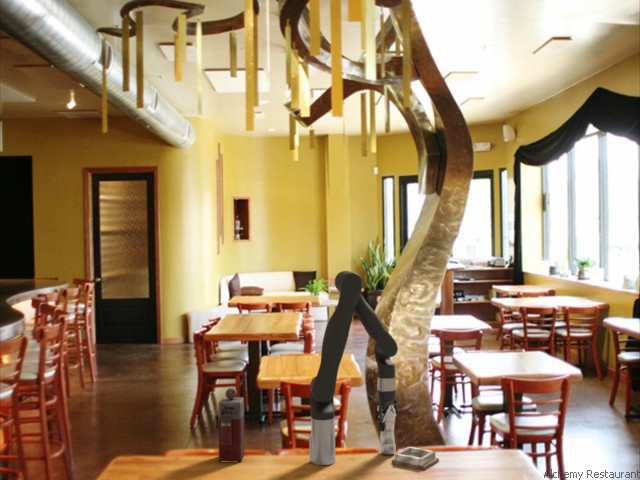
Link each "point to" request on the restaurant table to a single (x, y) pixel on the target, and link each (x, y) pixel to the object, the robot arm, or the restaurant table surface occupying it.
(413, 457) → the socket board
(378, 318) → the robot arm
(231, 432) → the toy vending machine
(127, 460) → the restaurant table surface
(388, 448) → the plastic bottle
